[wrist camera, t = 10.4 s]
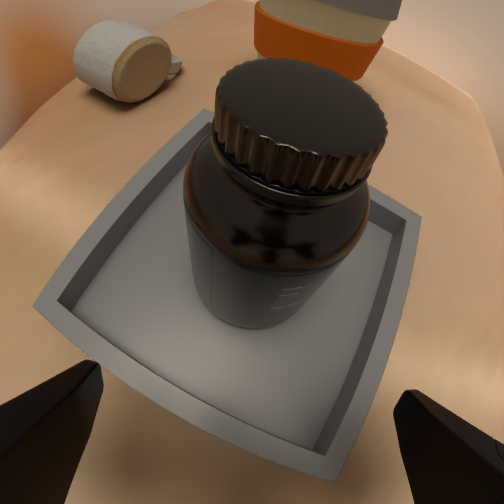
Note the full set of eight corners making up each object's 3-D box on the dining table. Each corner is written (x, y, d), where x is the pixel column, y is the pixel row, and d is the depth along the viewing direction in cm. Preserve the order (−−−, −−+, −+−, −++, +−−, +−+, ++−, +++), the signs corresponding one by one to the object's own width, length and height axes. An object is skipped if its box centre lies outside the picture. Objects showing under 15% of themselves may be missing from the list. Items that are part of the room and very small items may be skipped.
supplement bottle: (306, 230, 20) (389, 72, 9) (307, 335, 16) (456, 224, 6) (200, 217, 19) (204, 34, 8) (184, 323, 16) (140, 174, 5)
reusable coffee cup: (372, 108, 30) (423, 1, 16) (308, 146, 25) (368, -14, 11) (291, 57, 33) (317, -43, 19) (214, 81, 27) (229, -51, 14)
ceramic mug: (120, 120, 23) (109, 47, 17) (78, 96, 25) (66, 36, 18) (199, 76, 28) (204, 14, 21) (152, 57, 30) (151, 3, 23)
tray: (402, 235, 22) (421, 216, 19) (315, 471, 14) (334, 482, 11) (203, 134, 23) (204, 108, 21) (53, 319, 15) (32, 306, 13)
